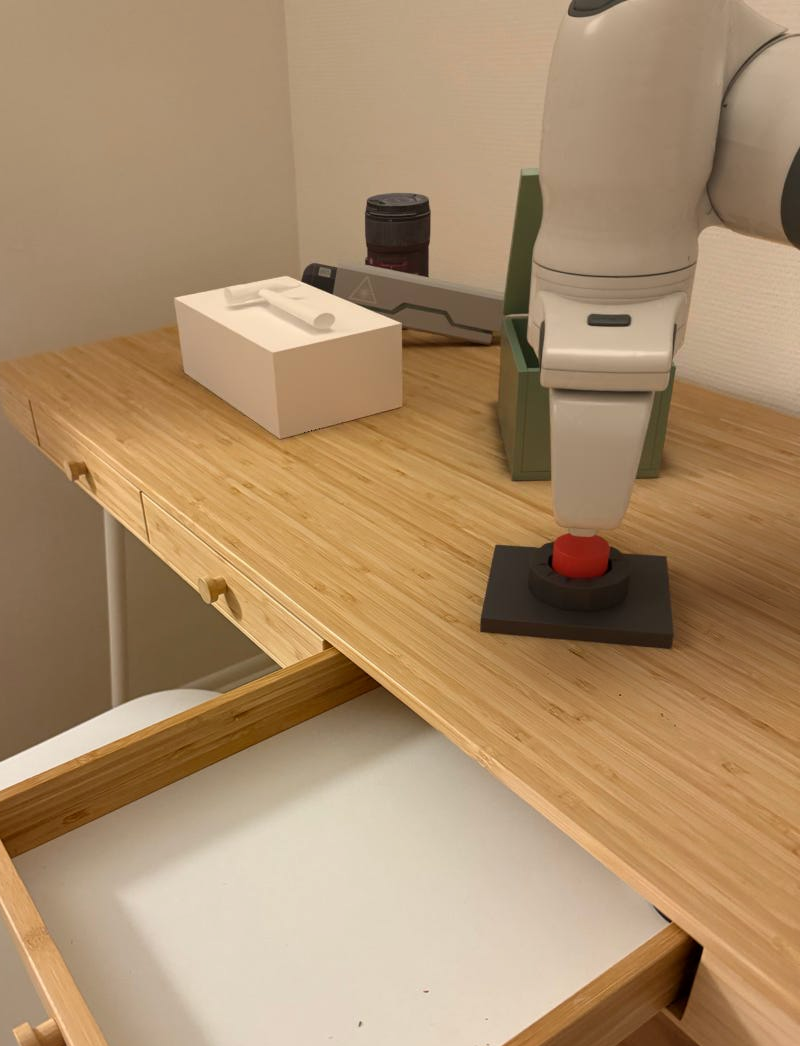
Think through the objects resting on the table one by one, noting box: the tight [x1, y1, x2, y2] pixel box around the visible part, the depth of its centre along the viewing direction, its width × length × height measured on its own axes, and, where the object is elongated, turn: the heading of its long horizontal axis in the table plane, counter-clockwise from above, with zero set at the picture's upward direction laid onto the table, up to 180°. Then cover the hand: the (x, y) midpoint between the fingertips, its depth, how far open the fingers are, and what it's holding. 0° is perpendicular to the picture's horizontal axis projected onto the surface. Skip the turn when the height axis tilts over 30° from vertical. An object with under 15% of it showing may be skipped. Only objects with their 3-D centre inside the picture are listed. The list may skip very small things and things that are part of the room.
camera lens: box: [364, 192, 432, 330], centre depth 120 cm, size 8×8×15 cm
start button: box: [552, 532, 611, 579], centre depth 64 cm, size 4×4×2 cm
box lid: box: [502, 167, 543, 316], centre depth 83 cm, size 16×13×5 cm
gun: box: [300, 259, 512, 346], centre depth 115 cm, size 2×25×10 cm, turn 85°
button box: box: [479, 541, 675, 650], centre depth 65 cm, size 12×10×4 cm
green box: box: [496, 315, 677, 482], centre depth 87 cm, size 16×13×10 cm
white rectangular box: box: [173, 275, 403, 440], centre depth 103 cm, size 14×25×11 cm, turn 29°
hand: (582, 526), depth 62 cm, fingers closed
